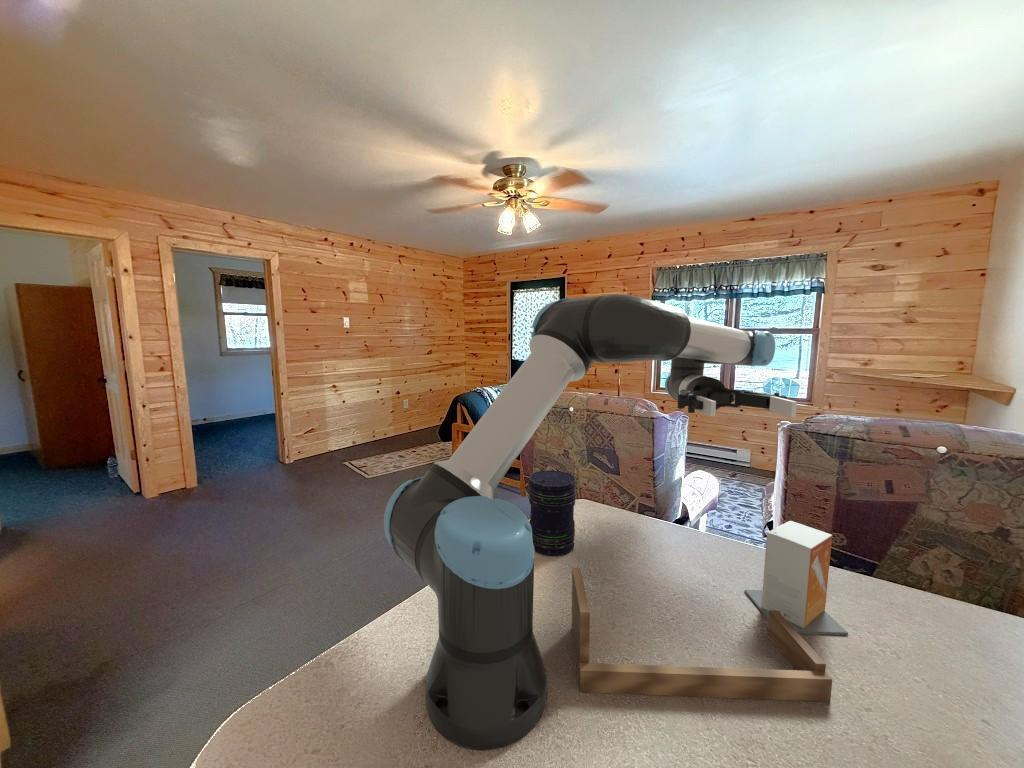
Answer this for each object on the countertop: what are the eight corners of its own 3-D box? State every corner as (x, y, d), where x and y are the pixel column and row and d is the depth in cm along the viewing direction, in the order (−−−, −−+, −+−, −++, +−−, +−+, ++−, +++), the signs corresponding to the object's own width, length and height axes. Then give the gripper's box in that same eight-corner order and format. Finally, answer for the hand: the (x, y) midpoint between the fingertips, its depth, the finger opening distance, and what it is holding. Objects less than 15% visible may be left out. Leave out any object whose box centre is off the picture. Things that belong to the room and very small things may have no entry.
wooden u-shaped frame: (580, 692, 51) (581, 618, 50) (571, 628, 62) (572, 567, 61) (830, 701, 50) (837, 626, 49) (775, 635, 61) (780, 572, 60)
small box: (804, 630, 61) (811, 548, 60) (760, 607, 66) (765, 531, 65) (826, 610, 66) (833, 534, 64) (783, 590, 71) (788, 519, 69)
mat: (779, 633, 61) (779, 630, 61) (744, 591, 71) (744, 589, 71) (847, 635, 61) (848, 632, 61) (803, 593, 71) (803, 591, 71)
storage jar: (550, 529, 95) (550, 467, 93) (584, 545, 87) (585, 478, 86) (519, 544, 88) (519, 477, 86) (553, 562, 81) (554, 490, 79)
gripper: (758, 409, 91) (826, 431, 70) (645, 408, 92) (679, 429, 71) (760, 376, 90) (830, 387, 69) (646, 376, 91) (681, 387, 70)
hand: (753, 409), depth 70 cm, fingers open, 13 cm apart
